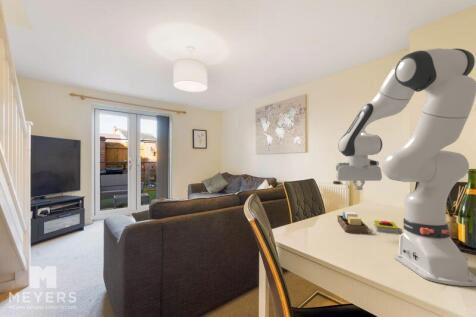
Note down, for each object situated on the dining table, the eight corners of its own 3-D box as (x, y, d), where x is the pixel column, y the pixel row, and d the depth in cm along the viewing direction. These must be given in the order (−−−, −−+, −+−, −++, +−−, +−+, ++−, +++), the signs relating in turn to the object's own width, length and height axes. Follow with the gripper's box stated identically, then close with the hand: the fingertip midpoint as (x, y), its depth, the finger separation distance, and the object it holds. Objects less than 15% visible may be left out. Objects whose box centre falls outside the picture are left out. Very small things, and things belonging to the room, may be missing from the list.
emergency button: (376, 224, 107) (373, 216, 121) (376, 233, 107) (373, 224, 121) (399, 226, 103) (393, 218, 117) (399, 236, 103) (393, 226, 117)
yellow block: (361, 227, 108) (361, 219, 108) (350, 226, 109) (349, 218, 109) (358, 224, 112) (358, 216, 112) (348, 224, 113) (347, 216, 113)
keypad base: (368, 233, 106) (368, 226, 106) (345, 232, 108) (345, 225, 108) (356, 222, 125) (356, 216, 125) (337, 221, 127) (337, 215, 127)
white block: (357, 221, 114) (357, 214, 114) (347, 221, 115) (347, 213, 115) (355, 219, 118) (355, 212, 118) (345, 219, 119) (345, 211, 119)
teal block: (354, 221, 120) (354, 214, 120) (344, 221, 121) (344, 213, 121) (352, 219, 124) (352, 212, 124) (342, 218, 125) (342, 212, 125)
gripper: (337, 162, 110) (337, 190, 109) (382, 161, 105) (383, 190, 105) (334, 162, 116) (335, 188, 115) (377, 161, 111) (378, 189, 111)
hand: (358, 189), depth 110 cm, fingers closed
